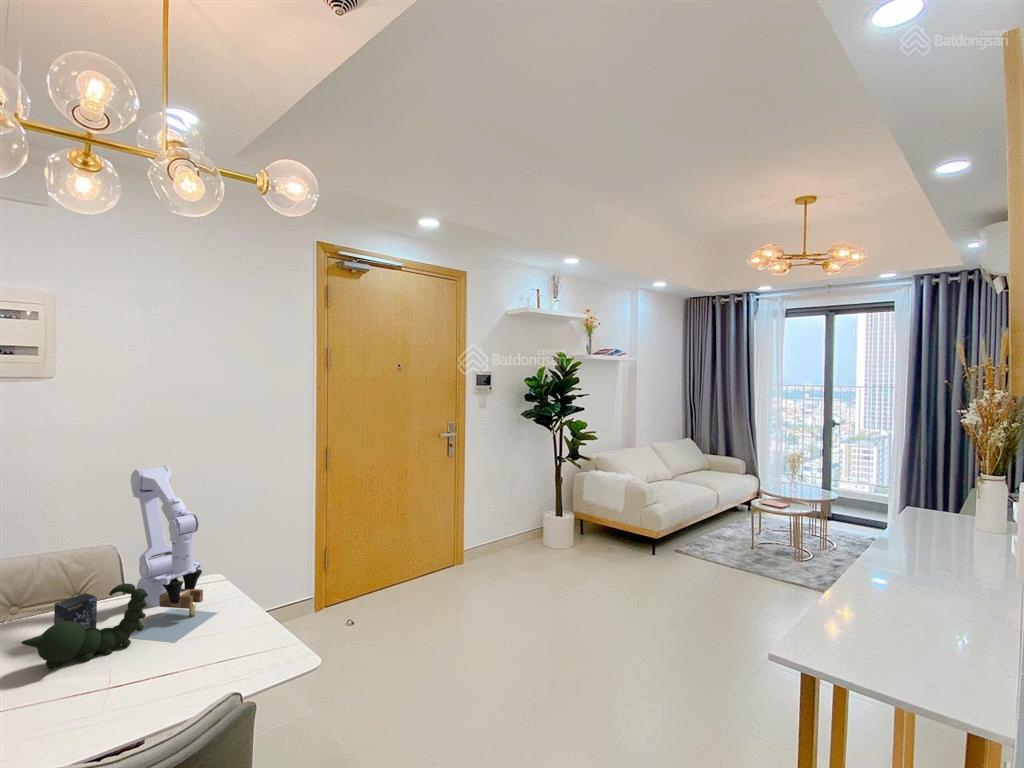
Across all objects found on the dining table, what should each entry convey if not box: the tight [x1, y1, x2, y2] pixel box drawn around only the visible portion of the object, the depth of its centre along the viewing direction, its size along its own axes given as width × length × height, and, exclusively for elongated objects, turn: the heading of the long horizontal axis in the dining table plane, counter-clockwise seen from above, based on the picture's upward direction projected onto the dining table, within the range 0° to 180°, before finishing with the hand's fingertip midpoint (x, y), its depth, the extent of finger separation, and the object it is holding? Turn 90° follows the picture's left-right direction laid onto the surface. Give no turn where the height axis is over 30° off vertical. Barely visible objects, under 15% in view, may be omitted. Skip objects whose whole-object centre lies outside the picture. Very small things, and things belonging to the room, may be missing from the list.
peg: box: [188, 602, 197, 618], centre depth 159 cm, size 2×2×4 cm
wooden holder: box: [159, 587, 204, 610], centre depth 160 cm, size 10×6×4 cm, turn 84°
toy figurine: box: [21, 583, 148, 671], centre depth 136 cm, size 9×19×25 cm
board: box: [128, 608, 218, 644], centre depth 155 cm, size 16×18×1 cm
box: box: [53, 592, 98, 629], centre depth 147 cm, size 8×6×11 cm
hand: (182, 598), depth 160 cm, fingers closed on wooden holder, 5 cm apart
